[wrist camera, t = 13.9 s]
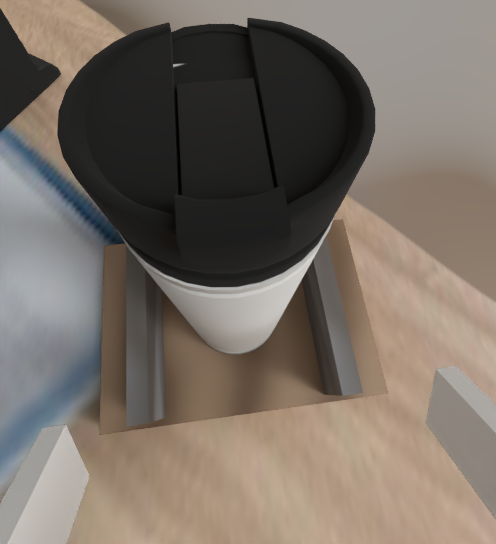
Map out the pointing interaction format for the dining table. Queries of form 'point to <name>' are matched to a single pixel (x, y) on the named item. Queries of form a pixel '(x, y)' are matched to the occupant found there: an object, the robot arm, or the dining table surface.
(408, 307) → the dining table surface
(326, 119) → the travel mug
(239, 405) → the wooden rack
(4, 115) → the black mini cabinet
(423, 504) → the dining table surface
